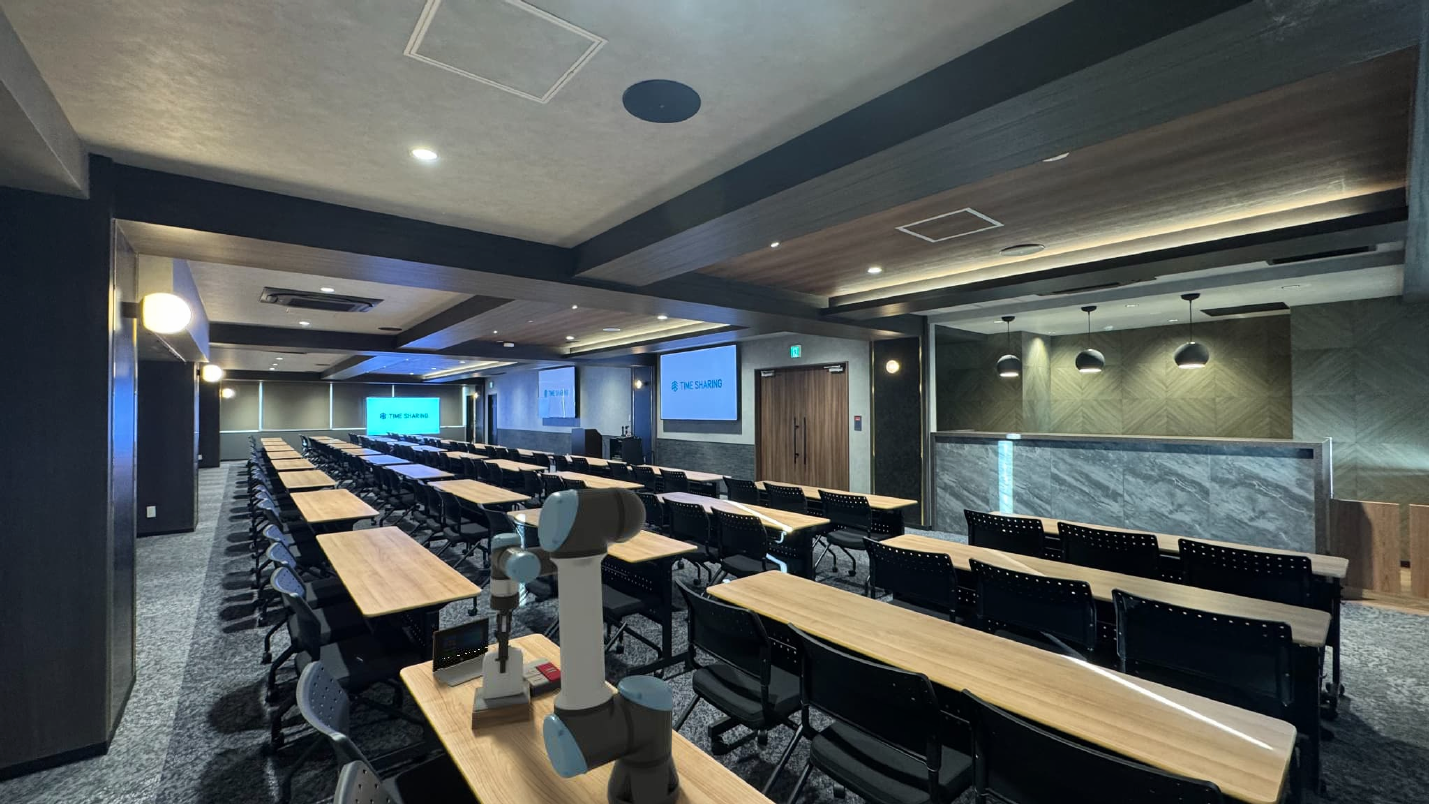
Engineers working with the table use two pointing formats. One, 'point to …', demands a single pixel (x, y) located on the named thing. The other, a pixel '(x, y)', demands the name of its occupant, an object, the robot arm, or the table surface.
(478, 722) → the mirror
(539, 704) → the table surface
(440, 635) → the laptop
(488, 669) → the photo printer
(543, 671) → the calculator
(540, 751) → the table surface
